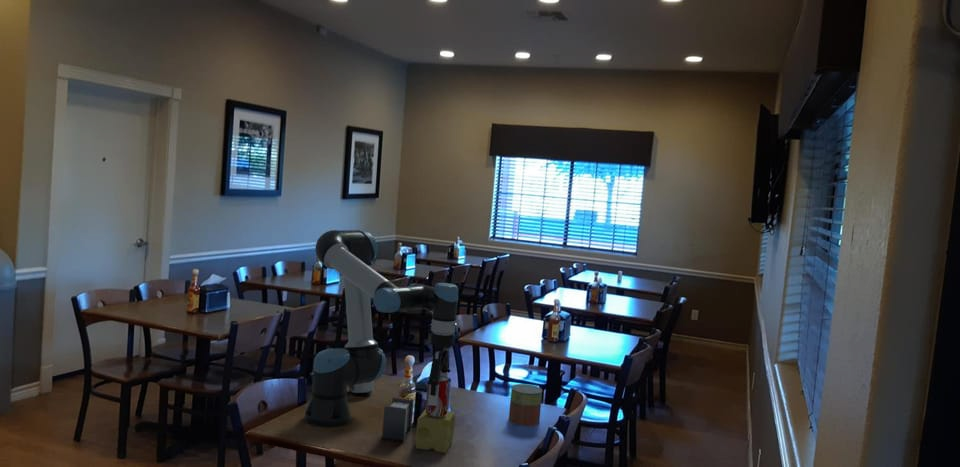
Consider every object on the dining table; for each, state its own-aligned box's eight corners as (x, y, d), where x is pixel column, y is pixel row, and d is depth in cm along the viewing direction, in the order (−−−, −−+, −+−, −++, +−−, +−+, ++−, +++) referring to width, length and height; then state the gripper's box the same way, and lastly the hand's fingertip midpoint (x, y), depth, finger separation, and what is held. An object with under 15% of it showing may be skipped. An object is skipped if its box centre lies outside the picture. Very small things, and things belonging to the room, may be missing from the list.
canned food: (532, 415, 257) (535, 383, 256) (544, 426, 246) (547, 393, 245) (504, 416, 253) (507, 384, 252) (514, 427, 242) (517, 393, 242)
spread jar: (376, 395, 265) (378, 365, 264) (351, 400, 257) (354, 369, 256) (357, 386, 273) (359, 358, 272) (333, 391, 265) (335, 361, 264)
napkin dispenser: (403, 442, 219) (405, 409, 218) (381, 439, 220) (384, 406, 219) (411, 432, 229) (413, 399, 228) (390, 429, 230) (393, 397, 229)
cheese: (446, 453, 214) (449, 422, 213) (412, 448, 215) (415, 417, 215) (453, 442, 224) (456, 412, 223) (421, 437, 226) (423, 407, 225)
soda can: (443, 419, 215) (446, 382, 214) (422, 416, 216) (425, 379, 215) (449, 413, 222) (452, 376, 221) (428, 409, 223) (431, 373, 222)
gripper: (446, 342, 204) (440, 412, 206) (461, 326, 229) (456, 388, 230) (422, 339, 205) (416, 409, 207) (439, 323, 230) (434, 386, 232)
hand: (437, 398), depth 219 cm, fingers open, 13 cm apart
